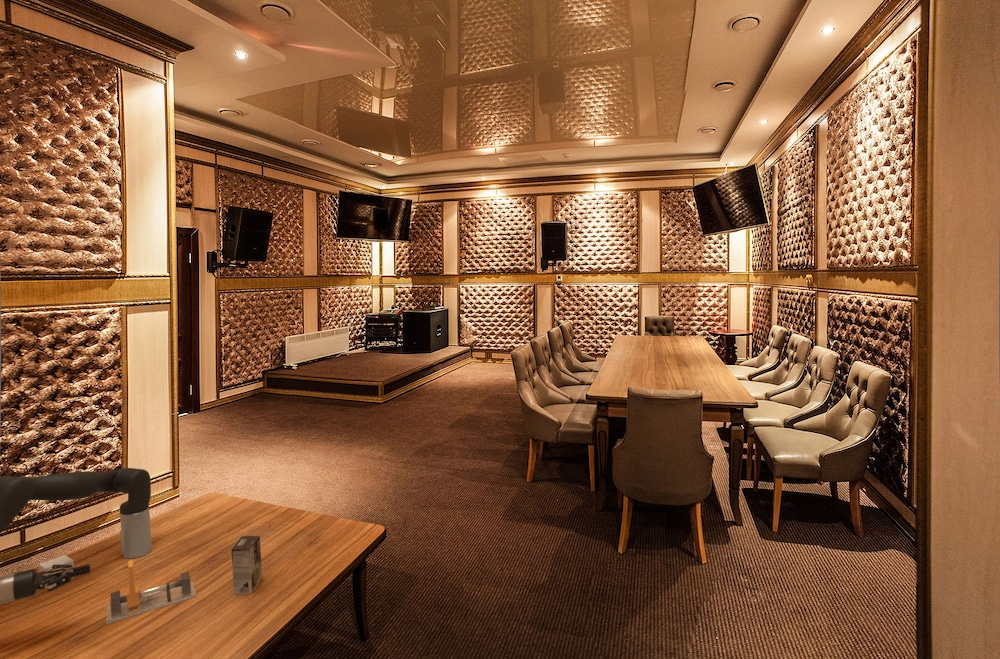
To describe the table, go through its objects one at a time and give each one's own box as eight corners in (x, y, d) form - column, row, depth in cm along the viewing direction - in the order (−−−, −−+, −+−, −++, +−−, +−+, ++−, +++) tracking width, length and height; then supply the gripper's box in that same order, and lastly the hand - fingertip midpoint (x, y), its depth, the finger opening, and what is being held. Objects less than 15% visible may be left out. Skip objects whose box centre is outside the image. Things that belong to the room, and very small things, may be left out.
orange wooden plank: (127, 608, 166) (124, 568, 164) (127, 600, 170) (124, 561, 168) (139, 605, 167) (136, 565, 166) (139, 597, 171) (136, 558, 170)
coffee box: (243, 579, 185) (241, 535, 183) (262, 578, 185) (260, 534, 184) (232, 595, 176) (230, 549, 174) (252, 594, 176) (250, 548, 175)
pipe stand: (106, 624, 161) (104, 605, 160) (107, 609, 168) (105, 591, 168) (196, 596, 175) (195, 579, 174) (193, 583, 182) (192, 567, 181)
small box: (66, 567, 193) (65, 553, 193) (75, 573, 189) (74, 559, 188) (39, 577, 186) (38, 563, 186) (48, 584, 182) (47, 570, 182)
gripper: (8, 585, 145) (87, 566, 155) (16, 564, 156) (90, 547, 166) (10, 610, 146) (89, 590, 156) (18, 588, 157) (92, 570, 167)
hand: (89, 568), depth 161 cm, fingers closed
